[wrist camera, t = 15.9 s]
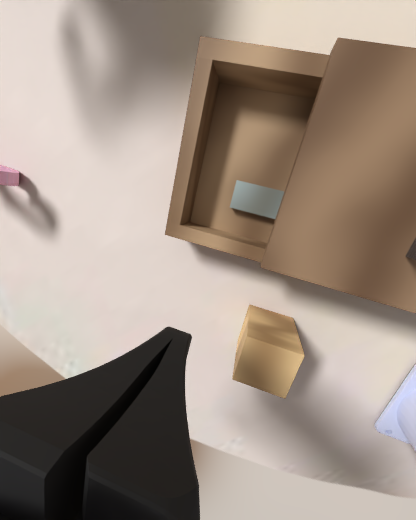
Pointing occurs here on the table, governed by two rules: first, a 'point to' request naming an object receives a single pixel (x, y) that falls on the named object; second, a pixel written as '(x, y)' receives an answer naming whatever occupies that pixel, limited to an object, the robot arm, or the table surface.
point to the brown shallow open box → (240, 142)
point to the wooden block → (268, 352)
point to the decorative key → (9, 176)
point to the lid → (355, 180)
